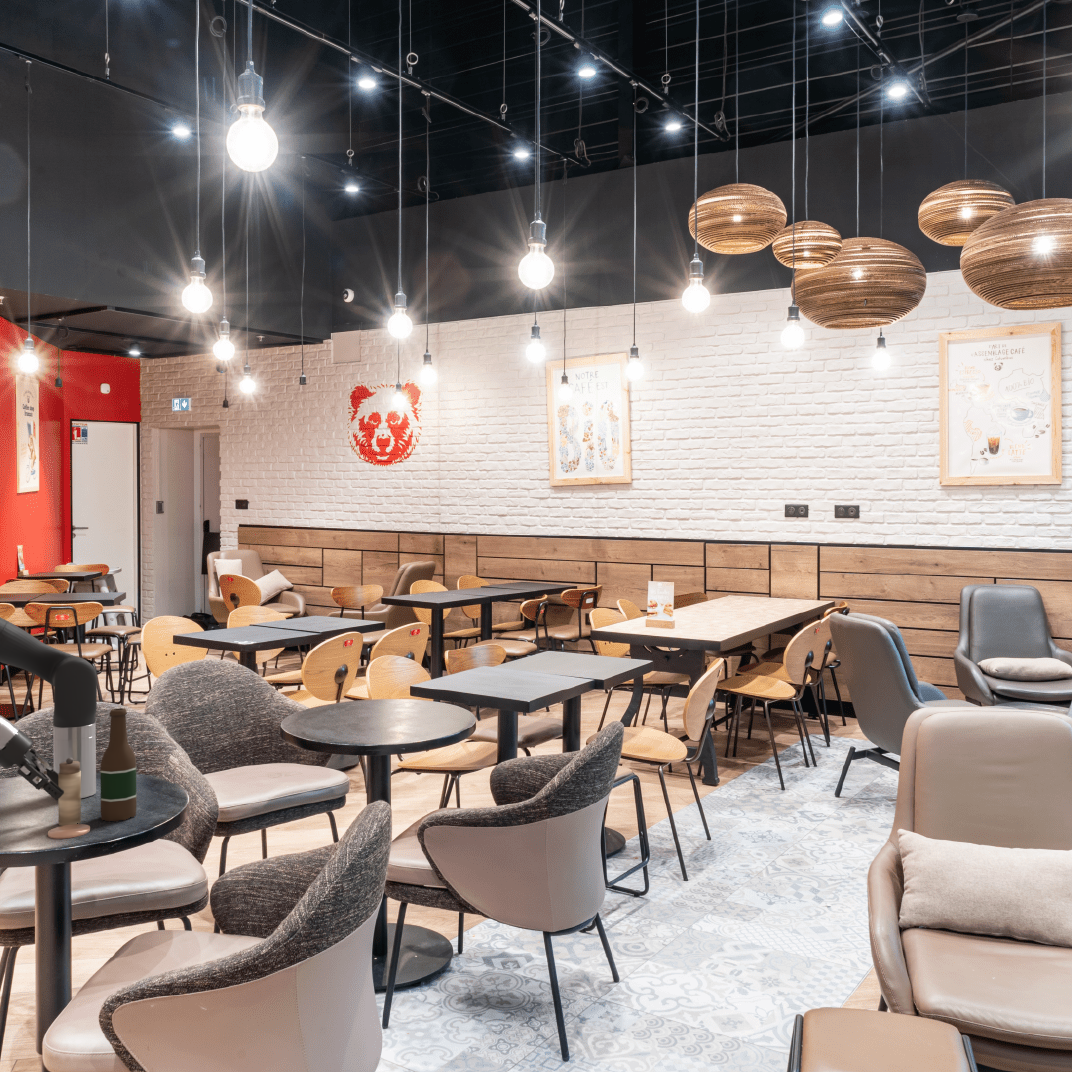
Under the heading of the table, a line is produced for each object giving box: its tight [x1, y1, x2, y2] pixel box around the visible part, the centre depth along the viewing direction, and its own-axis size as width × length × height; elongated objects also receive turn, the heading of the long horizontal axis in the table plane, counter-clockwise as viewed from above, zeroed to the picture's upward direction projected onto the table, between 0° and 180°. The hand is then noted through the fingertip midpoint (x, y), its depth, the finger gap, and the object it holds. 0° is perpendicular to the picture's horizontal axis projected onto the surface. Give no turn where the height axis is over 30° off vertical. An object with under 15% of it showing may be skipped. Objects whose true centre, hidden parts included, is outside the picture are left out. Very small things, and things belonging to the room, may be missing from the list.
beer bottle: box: [99, 707, 138, 822], centre depth 211 cm, size 8×8×24 cm
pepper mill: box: [57, 758, 82, 827], centre depth 207 cm, size 4×4×14 cm
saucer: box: [47, 823, 91, 840], centre depth 200 cm, size 8×8×1 cm
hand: (62, 790), depth 207 cm, fingers open, 8 cm apart
